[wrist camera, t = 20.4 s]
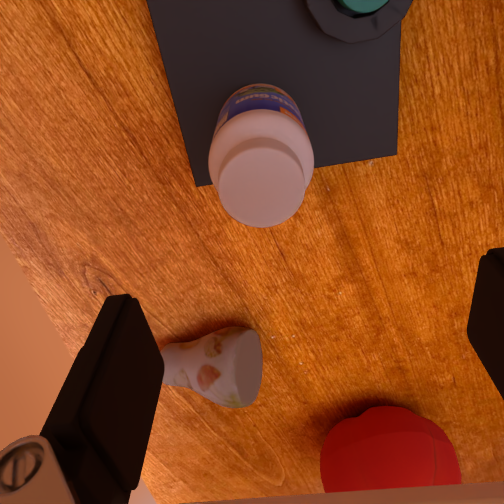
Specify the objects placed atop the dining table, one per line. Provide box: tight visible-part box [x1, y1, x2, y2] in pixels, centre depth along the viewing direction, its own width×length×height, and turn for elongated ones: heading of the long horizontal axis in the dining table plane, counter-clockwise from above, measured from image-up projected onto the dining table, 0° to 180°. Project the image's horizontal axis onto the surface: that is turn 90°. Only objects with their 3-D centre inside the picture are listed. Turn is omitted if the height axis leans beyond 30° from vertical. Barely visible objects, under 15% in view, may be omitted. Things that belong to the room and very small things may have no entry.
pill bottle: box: [208, 84, 314, 228], centre depth 22 cm, size 5×5×10 cm
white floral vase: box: [160, 326, 262, 408], centre depth 37 cm, size 8×10×10 cm
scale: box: [146, 0, 413, 187], centre depth 24 cm, size 14×13×4 cm
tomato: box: [320, 406, 461, 493], centre depth 42 cm, size 13×14×12 cm
